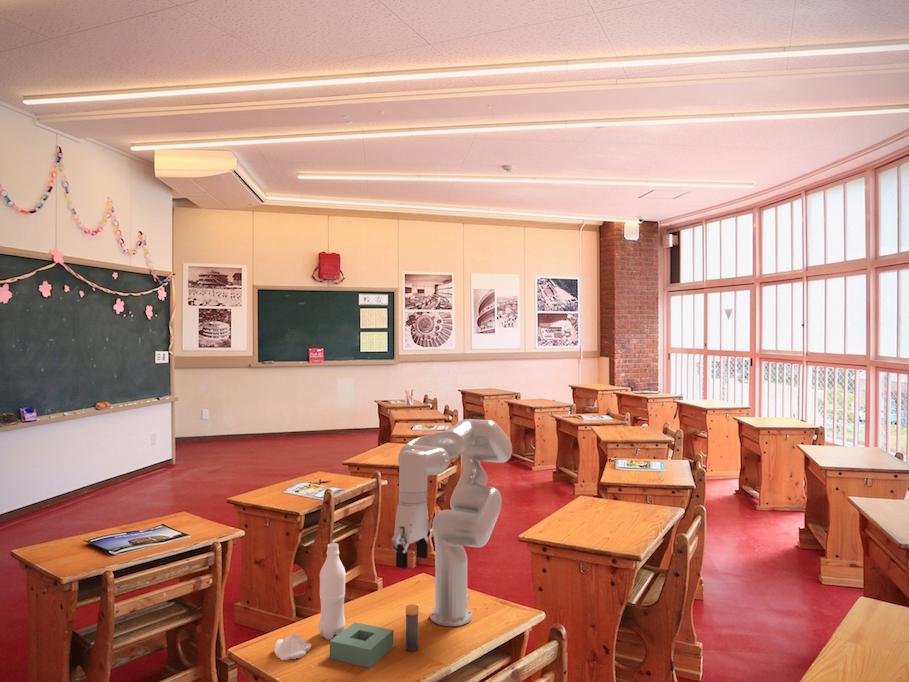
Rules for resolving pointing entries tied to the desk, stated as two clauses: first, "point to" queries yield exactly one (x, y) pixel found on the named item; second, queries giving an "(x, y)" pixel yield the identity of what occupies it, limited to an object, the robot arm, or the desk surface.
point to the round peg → (411, 628)
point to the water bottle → (332, 594)
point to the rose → (291, 647)
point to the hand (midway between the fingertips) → (412, 562)
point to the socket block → (361, 644)
